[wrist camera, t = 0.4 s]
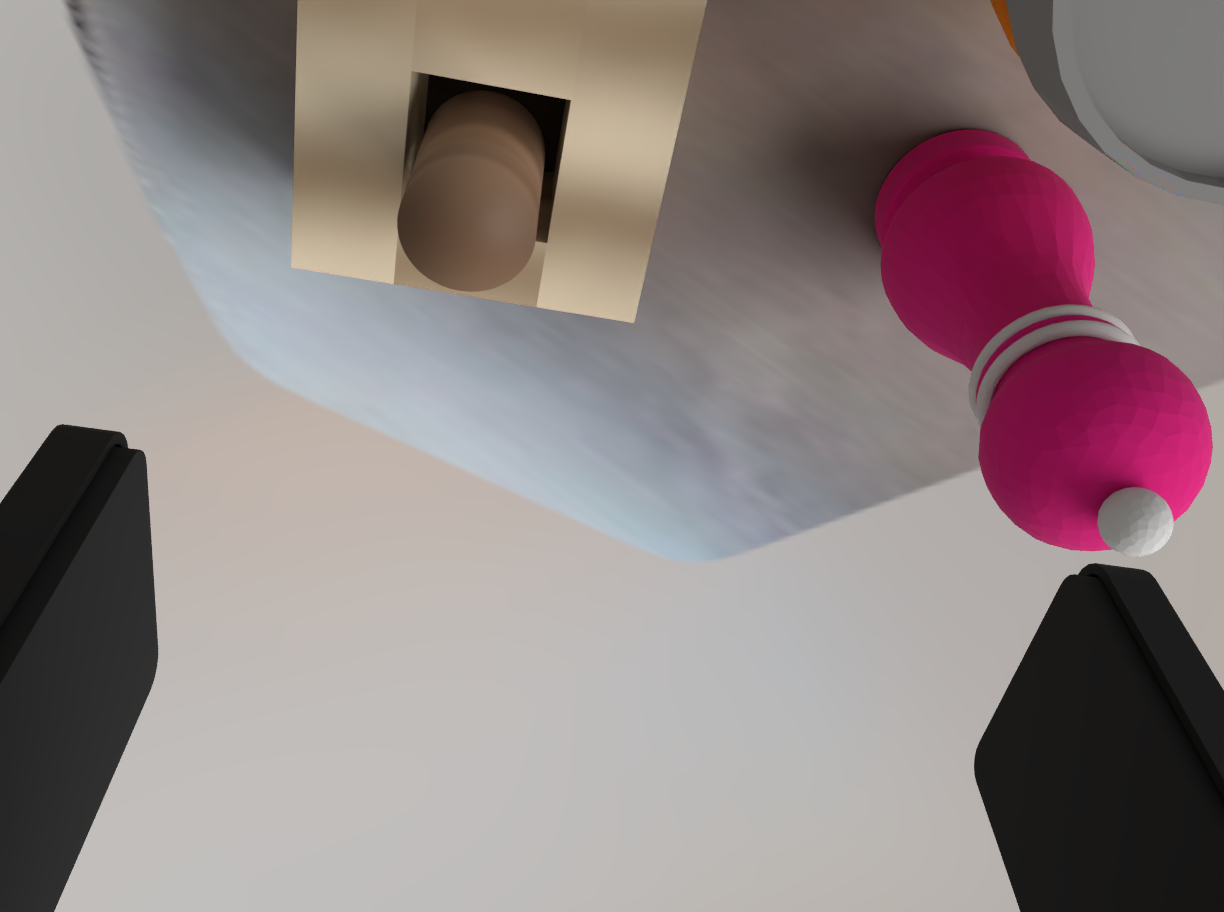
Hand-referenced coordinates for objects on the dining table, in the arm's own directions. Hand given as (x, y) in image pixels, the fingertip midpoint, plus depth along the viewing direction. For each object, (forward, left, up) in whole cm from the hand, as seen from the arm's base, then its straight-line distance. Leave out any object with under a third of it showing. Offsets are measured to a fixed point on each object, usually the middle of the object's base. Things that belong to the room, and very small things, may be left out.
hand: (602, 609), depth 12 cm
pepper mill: (+8, +15, -33) cm, 38 cm away
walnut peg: (+7, -3, -28) cm, 29 cm away
